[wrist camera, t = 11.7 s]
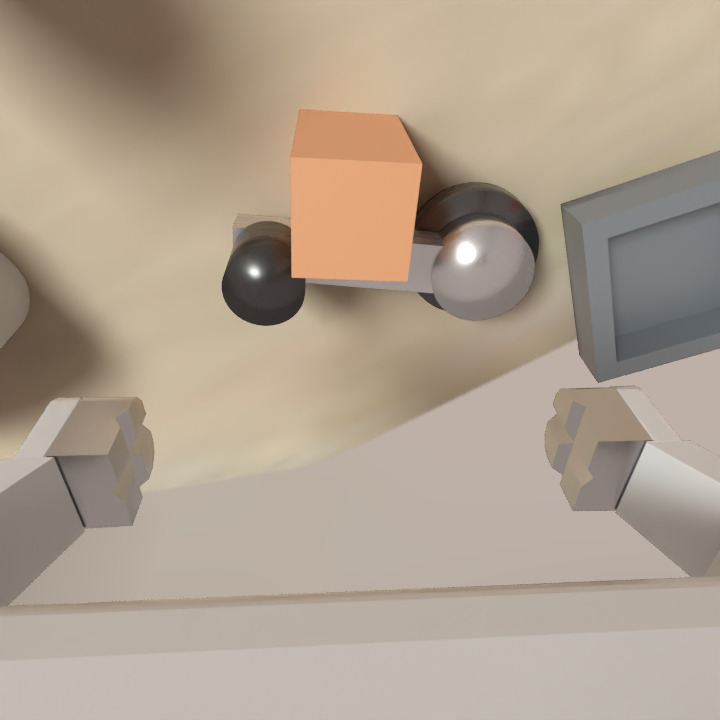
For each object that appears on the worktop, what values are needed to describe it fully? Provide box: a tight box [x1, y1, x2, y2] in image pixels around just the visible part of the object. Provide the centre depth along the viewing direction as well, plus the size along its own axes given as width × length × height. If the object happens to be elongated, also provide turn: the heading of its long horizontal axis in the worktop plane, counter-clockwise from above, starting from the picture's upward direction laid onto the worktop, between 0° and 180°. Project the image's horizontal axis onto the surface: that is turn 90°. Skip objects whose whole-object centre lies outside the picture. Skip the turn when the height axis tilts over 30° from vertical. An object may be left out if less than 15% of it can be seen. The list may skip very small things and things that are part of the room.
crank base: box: [414, 182, 539, 310], centre depth 25 cm, size 6×6×1 cm
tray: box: [561, 151, 720, 383], centre depth 26 cm, size 9×9×2 cm
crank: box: [222, 212, 535, 326], centre depth 22 cm, size 13×4×4 cm, turn 83°
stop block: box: [290, 110, 422, 282], centre depth 20 cm, size 4×4×7 cm
